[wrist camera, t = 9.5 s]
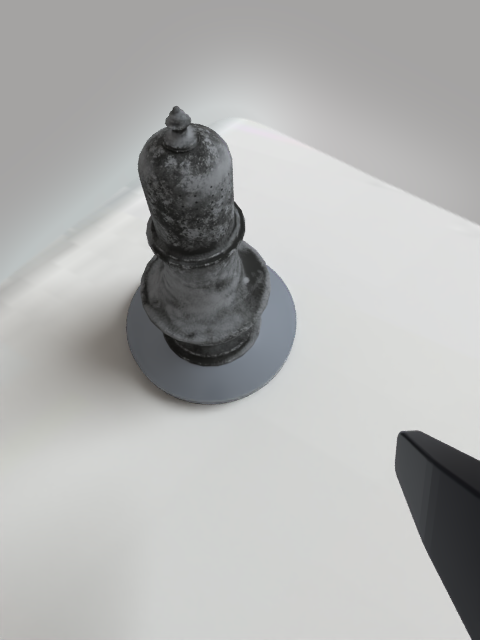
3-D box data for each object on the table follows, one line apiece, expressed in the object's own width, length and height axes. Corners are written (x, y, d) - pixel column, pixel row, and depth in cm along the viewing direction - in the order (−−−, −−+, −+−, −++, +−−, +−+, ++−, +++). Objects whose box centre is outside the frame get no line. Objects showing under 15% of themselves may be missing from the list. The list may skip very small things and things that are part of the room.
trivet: (146, 426, 19) (142, 422, 18) (118, 277, 23) (114, 269, 22) (319, 375, 20) (322, 370, 20) (264, 242, 24) (265, 233, 23)
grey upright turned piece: (132, 330, 21) (10, 125, 10) (203, 256, 23) (164, 20, 12) (221, 395, 19) (191, 232, 8) (288, 308, 21) (333, 89, 10)
